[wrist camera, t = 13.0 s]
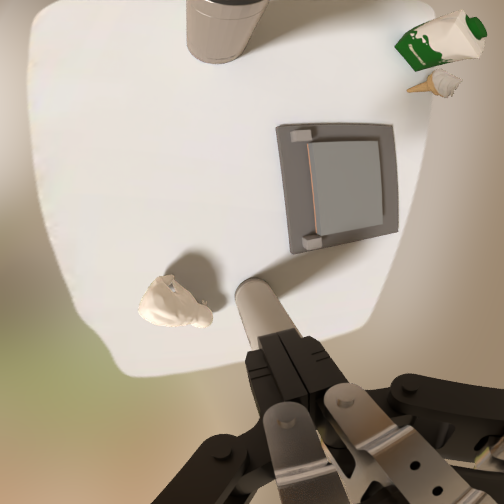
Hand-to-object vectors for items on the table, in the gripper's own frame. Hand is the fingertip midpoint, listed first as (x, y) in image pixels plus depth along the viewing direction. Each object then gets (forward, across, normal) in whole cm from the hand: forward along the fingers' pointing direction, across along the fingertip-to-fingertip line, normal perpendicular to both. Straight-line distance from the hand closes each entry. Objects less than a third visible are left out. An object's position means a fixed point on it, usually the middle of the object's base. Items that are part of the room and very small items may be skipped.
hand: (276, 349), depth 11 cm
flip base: (+32, -22, -2) cm, 39 cm away
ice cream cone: (+32, -40, -20) cm, 55 cm away
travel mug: (+32, -4, +14) cm, 35 cm away
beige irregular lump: (+32, +8, +12) cm, 35 cm away
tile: (+29, -15, -2) cm, 33 cm away
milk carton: (+32, -44, -30) cm, 62 cm away
